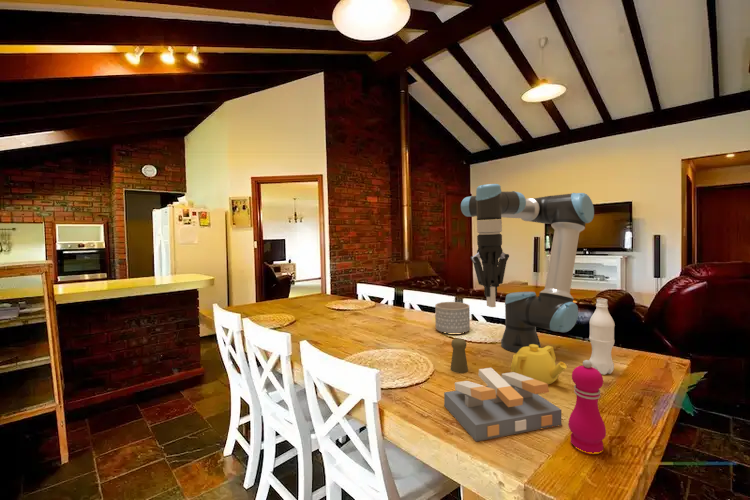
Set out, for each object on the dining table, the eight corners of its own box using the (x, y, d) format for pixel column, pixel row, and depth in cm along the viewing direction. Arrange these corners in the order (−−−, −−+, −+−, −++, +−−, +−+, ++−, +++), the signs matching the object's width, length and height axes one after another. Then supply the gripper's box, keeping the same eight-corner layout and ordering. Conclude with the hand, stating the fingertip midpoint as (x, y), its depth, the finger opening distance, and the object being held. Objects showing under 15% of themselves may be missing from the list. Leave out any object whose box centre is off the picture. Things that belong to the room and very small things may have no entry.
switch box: (517, 394, 102) (517, 373, 102) (562, 425, 86) (562, 400, 85) (444, 406, 97) (444, 383, 96) (476, 442, 80) (476, 415, 79)
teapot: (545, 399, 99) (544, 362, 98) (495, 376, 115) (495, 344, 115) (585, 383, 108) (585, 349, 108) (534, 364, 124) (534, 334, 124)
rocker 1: (468, 388, 96) (467, 380, 96) (496, 398, 83) (495, 389, 83) (455, 390, 95) (454, 382, 95) (481, 400, 82) (480, 391, 82)
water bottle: (611, 369, 118) (612, 298, 117) (616, 377, 112) (617, 302, 110) (587, 366, 121) (588, 296, 120) (590, 374, 115) (591, 300, 113)
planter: (435, 335, 161) (435, 309, 161) (435, 325, 178) (435, 301, 177) (471, 336, 159) (471, 309, 158) (467, 326, 175) (467, 301, 174)
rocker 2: (490, 373, 98) (491, 367, 98) (522, 404, 85) (523, 397, 84) (478, 375, 97) (478, 369, 97) (508, 407, 84) (509, 400, 83)
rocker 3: (514, 379, 100) (513, 371, 100) (548, 391, 86) (547, 383, 86) (502, 380, 99) (501, 373, 99) (535, 394, 85) (534, 385, 85)
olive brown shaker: (468, 373, 118) (468, 342, 117) (450, 372, 119) (450, 341, 118) (467, 366, 124) (467, 337, 123) (450, 365, 125) (449, 336, 124)
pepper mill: (561, 437, 81) (561, 355, 80) (590, 435, 81) (590, 353, 80) (582, 458, 73) (583, 367, 72) (613, 455, 74) (615, 365, 73)
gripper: (499, 232, 114) (501, 301, 115) (464, 234, 110) (467, 305, 112) (514, 232, 107) (516, 306, 108) (477, 234, 103) (479, 311, 105)
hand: (491, 306), depth 110 cm, fingers closed
